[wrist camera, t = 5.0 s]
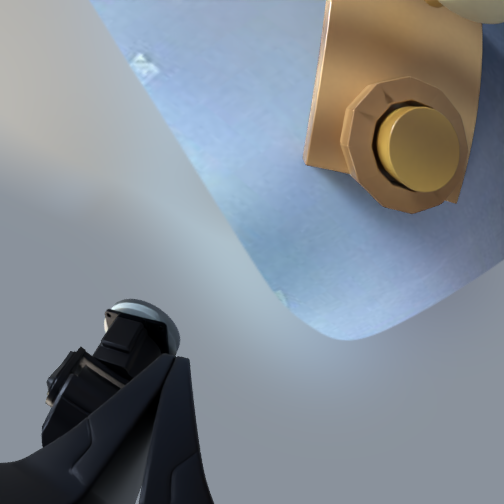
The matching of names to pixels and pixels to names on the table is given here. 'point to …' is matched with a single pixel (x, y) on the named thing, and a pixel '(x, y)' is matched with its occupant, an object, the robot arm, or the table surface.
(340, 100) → the lamp base
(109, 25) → the table surface
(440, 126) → the lamp switch
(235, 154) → the table surface
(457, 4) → the lamp globe
